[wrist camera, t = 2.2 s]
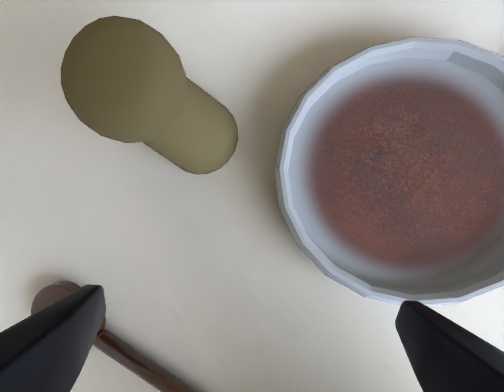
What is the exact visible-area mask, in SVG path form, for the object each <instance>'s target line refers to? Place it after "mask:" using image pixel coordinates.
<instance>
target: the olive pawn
mask: <svg viewBox="0 0 504 392" xmlns="http://www.w3.org/2000/svg"><path fill="white" fill-rule="evenodd" d="M61 85H62V88H63V92H64V95H65V98H66V100H67V102H68V104H69V106H70V107H71V109H72V110H73V111H74V113H75V114H76V116H77V117H78V119H79V120H80V121H81V122H83V123H84V124H85V125H87V126H88V127H89V128H91V129H92V130H94V131H95V132H97V133H98V134H99V135H101V136H104V137H107V138H110V139H113V140H117V141H121V142H125V143H134V142H143V143H144V144H146V145H147V146H149V147H150V148H152V149H153V150H155V151H156V152H158V153H159V154H161V155H162V156H164V157H165V158H167V159H168V160H169V161H171V162H172V163H174V164H175V165H177V166H178V167H180V168H181V169H183V170H184V171H186V172H190V173H193V174H208V173H210V172H213V171H215V170H218V169H219V168H221V167H222V166H223V165H224V164H225V163H227V162H228V161H229V159H230V157H231V156H232V154H233V153H234V151H235V147H236V144H237V140H238V134H237V125H236V123H235V120H234V117H233V116H232V114H231V113H230V112H229V111H228V109H227V108H226V107H225V106H223V105H222V104H221V103H220V102H218V101H217V100H216V99H214V98H213V97H212V96H210V95H209V94H208V93H207V92H205V91H204V90H203V89H201V88H200V87H199V86H197V85H196V84H195V83H194V82H192V81H191V80H190V79H188V78H187V77H186V75H185V72H184V69H183V66H182V63H181V61H180V58H179V55H178V54H177V53H176V51H175V50H174V49H173V47H172V46H171V45H170V44H169V42H168V41H167V40H166V39H165V37H164V36H163V35H162V34H161V33H159V32H158V31H156V30H155V29H154V28H152V27H150V26H149V25H147V24H145V23H143V22H142V21H140V20H136V19H131V18H125V17H119V16H110V17H104V18H99V19H97V20H95V21H94V22H92V23H90V24H88V25H86V26H85V27H84V28H83V29H82V30H81V31H80V32H79V33H77V34H76V35H75V36H74V37H73V39H72V41H71V43H70V44H69V46H68V48H67V50H66V51H65V54H64V58H63V62H62V66H61Z"/></svg>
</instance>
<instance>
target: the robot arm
mask: <svg viewBox="0 0 504 392" xmlns="http://www.w3.org/2000/svg"><path fill="white" fill-rule="evenodd" d="M105 311H106V306H105V297H104V289H103V287H102V286H101V285H85V286H83V287H81V288H79V289H78V290H76V291H74V292H72V293H70V294H69V295H67V296H65V297H63V298H62V299H60V300H58V301H56V302H54V303H53V304H51V305H49V306H47V307H45V308H44V309H42V310H40V311H38V312H36V313H35V314H33V315H31V316H29V317H28V318H26V319H24V320H22V321H20V322H19V323H17V324H15V325H13V326H11V327H10V328H8V329H6V330H4V331H3V332H1V333H0V392H70V391H71V389H72V387H73V385H74V383H75V381H76V379H77V378H78V376H79V374H80V372H81V369H82V367H83V365H84V363H85V360H86V358H87V356H88V353H89V351H90V349H91V346H92V344H93V342H94V339H95V337H96V335H97V332H98V330H99V328H100V325H101V323H102V320H103V318H104V315H105ZM395 325H396V329H397V332H398V334H399V337H400V339H401V342H402V344H403V346H404V349H405V351H406V354H407V356H408V358H409V361H410V363H411V366H412V368H413V370H414V373H415V375H416V377H417V379H418V382H419V384H420V386H421V388H422V390H423V392H504V352H503V351H501V350H499V349H498V348H496V347H494V346H493V345H491V344H489V343H488V342H486V341H484V340H483V339H481V338H479V337H478V336H476V335H474V334H473V333H471V332H469V331H468V330H466V329H464V328H463V327H461V326H459V325H458V324H456V323H454V322H453V321H451V320H449V319H447V318H446V317H444V316H442V315H441V314H439V313H437V312H436V311H434V310H432V309H431V308H429V307H427V306H426V305H424V304H422V303H421V302H419V301H412V300H405V301H403V302H402V304H401V306H400V309H399V312H398V315H397V318H396V321H395Z"/></svg>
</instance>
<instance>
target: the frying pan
mask: <svg viewBox="0 0 504 392" xmlns="http://www.w3.org/2000/svg"><path fill="white" fill-rule="evenodd" d="M274 172H275V179H276V186H277V194H278V201H279V208H280V211H281V213H282V215H283V217H284V219H285V221H286V223H287V225H288V227H289V229H290V231H291V233H292V235H293V238H294V240H295V242H296V244H297V245H298V246H299V248H300V249H301V250H302V251H303V252H304V253H305V254H306V255H307V256H308V257H309V258H310V259H311V260H312V261H313V262H314V263H315V264H316V265H317V267H318V268H319V269H320V270H321V271H322V272H323V273H324V274H325V275H326V276H328V277H330V278H331V279H333V280H335V281H337V282H338V283H340V284H342V285H344V286H346V287H347V288H349V289H351V290H353V291H354V292H356V293H358V294H360V295H361V296H363V297H366V298H371V299H375V300H379V301H384V302H388V303H393V304H397V305H401V304H402V302H403V301H405V300H412V301H419V302H421V303H422V304H424V305H426V306H433V305H447V304H457V303H460V302H462V301H465V300H468V299H470V298H473V297H475V296H478V295H480V294H483V293H486V292H488V291H491V290H493V289H496V288H498V287H501V286H504V56H501V55H499V54H496V53H493V52H490V51H488V50H485V49H482V48H480V47H477V46H474V45H472V44H469V43H466V42H464V41H461V40H448V39H434V38H419V37H414V38H409V39H404V40H400V41H395V42H390V43H386V44H381V45H377V46H372V47H368V48H366V49H364V50H362V51H360V52H358V53H356V54H354V55H352V56H350V57H349V58H347V59H345V60H343V61H341V62H339V63H337V64H335V65H334V66H332V67H330V68H328V69H327V70H326V71H325V72H324V73H323V74H322V75H321V76H320V77H319V78H318V79H317V80H316V81H315V82H314V83H313V84H312V85H311V86H310V87H309V88H308V89H307V90H306V91H305V92H304V93H303V94H302V95H301V96H300V97H299V99H298V101H297V103H296V105H295V107H294V109H293V111H292V112H291V114H290V116H289V118H288V120H287V122H286V124H285V126H284V128H283V129H282V131H281V136H280V141H279V147H278V152H277V158H276V163H275V169H274Z"/></svg>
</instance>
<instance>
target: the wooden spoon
mask: <svg viewBox="0 0 504 392" xmlns="http://www.w3.org/2000/svg"><path fill="white" fill-rule="evenodd" d="M79 288H81V287H79V286H78V285H77V284H75V283H72V282H59V283H56V284H53V285H50V286H47V287H45V288H43V289H42V290H41V291H40V292H39V293H38V294H37V295H36V297H35V299H34V301H33V303H32V308H31V315H33V314H35V313H36V312H38V311H40V310H42V309H44V308H45V307H47V306H49V305H51V304H53V303H54V302H56V301H58V300H60V299H62V298H63V297H65V296H67V295H69V294H70V293H72V292H74V291H76V290H78V289H79ZM104 327H105V315H104V318H103V320H102V323H101V325H100V328H99V330H98V332H97V335H96V337H95V339H94V342H93V345H94V346H95V347H96V348H98V349H99V350H101V351H102V352H104V353H105V354H107V355H108V356H110V357H111V358H113V359H114V360H116V361H117V362H118V363H120V364H121V365H123V366H124V367H126V368H127V369H129V370H130V371H132V372H133V373H135V374H136V375H138V376H139V377H140V378H142V379H143V380H145V381H146V382H148V383H149V384H151V385H152V386H154V387H155V388H157V389H158V390H159V391H161V392H197V391H195V390H194V389H192V388H191V387H189V386H188V385H186V384H185V383H183V382H182V381H180V380H179V379H177V378H176V377H174V376H173V375H171V374H170V373H168V372H167V371H165V370H164V369H162V368H161V367H159V366H158V365H156V364H155V363H153V362H152V361H150V360H149V359H147V358H146V357H144V356H143V355H141V354H140V353H138V352H137V351H135V350H134V349H132V348H131V347H129V346H128V345H126V344H125V343H123V342H122V341H120V340H119V339H117V338H116V337H114V336H113V335H111V334H110V333H108V332H106V331H103V330H104Z"/></svg>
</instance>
